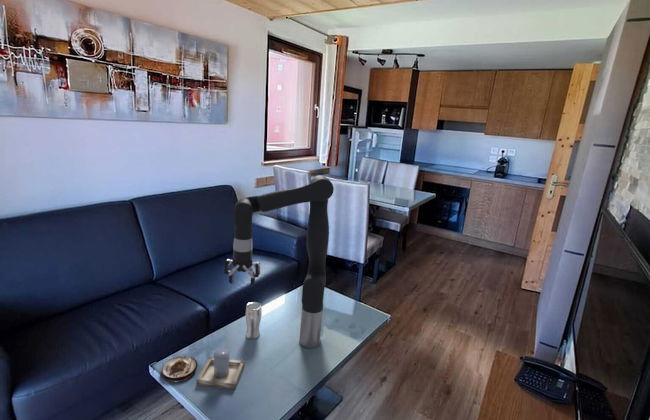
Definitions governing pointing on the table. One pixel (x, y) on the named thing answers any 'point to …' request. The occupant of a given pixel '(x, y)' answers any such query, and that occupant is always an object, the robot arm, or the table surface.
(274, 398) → the table surface
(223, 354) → the grey rounded cylinder
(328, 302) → the table surface
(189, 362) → the stuffed round slice
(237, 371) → the birch tray
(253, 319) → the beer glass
